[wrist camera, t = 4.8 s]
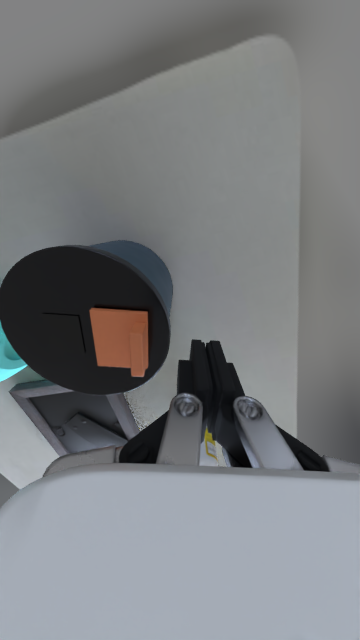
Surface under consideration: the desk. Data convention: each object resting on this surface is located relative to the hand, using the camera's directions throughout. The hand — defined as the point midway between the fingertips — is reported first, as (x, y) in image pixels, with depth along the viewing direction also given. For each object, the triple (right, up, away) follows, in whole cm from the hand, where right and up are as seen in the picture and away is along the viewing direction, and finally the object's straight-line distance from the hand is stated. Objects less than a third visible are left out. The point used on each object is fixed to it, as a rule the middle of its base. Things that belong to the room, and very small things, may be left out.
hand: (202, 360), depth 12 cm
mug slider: (-5, +1, +1) cm, 6 cm away
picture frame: (-17, -16, +22) cm, 32 cm away
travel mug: (-8, +6, +11) cm, 15 cm away
